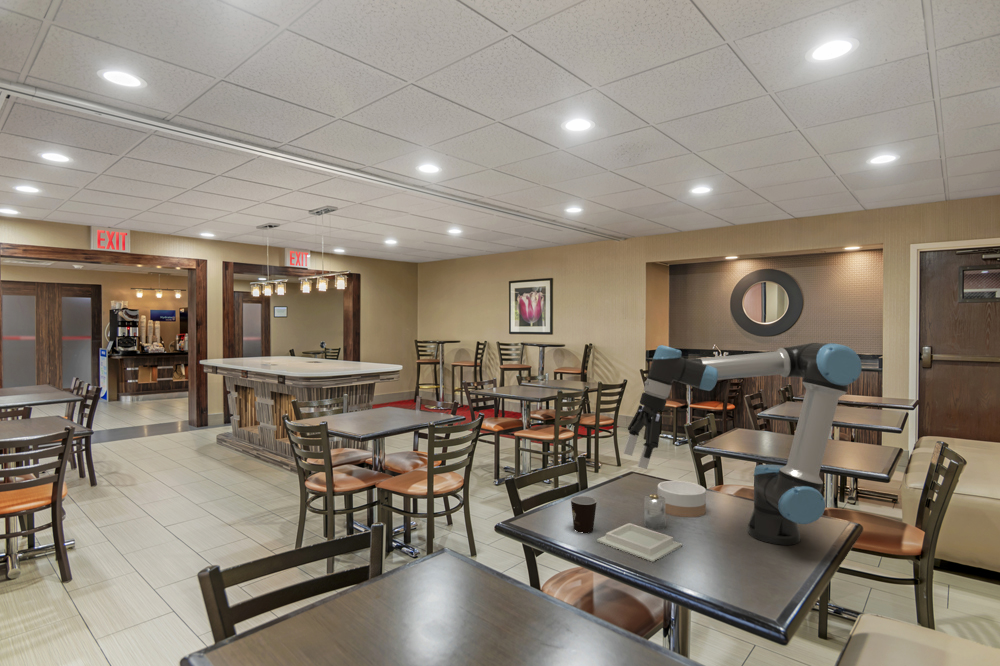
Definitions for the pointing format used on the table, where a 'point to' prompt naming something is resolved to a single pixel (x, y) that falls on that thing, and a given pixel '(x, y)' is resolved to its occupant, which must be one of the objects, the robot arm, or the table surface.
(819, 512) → the robot arm
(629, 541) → the guarded tray
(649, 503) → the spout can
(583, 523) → the coffee mug
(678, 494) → the bowl
